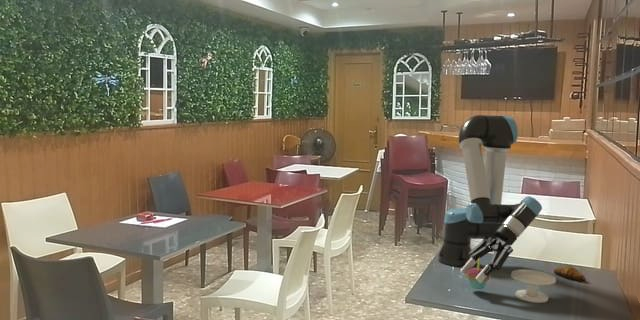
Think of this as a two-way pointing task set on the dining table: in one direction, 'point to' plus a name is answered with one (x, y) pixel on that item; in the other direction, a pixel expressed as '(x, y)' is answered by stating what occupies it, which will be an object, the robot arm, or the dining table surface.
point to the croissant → (570, 273)
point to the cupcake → (472, 275)
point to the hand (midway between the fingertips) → (470, 276)
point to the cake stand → (532, 284)
